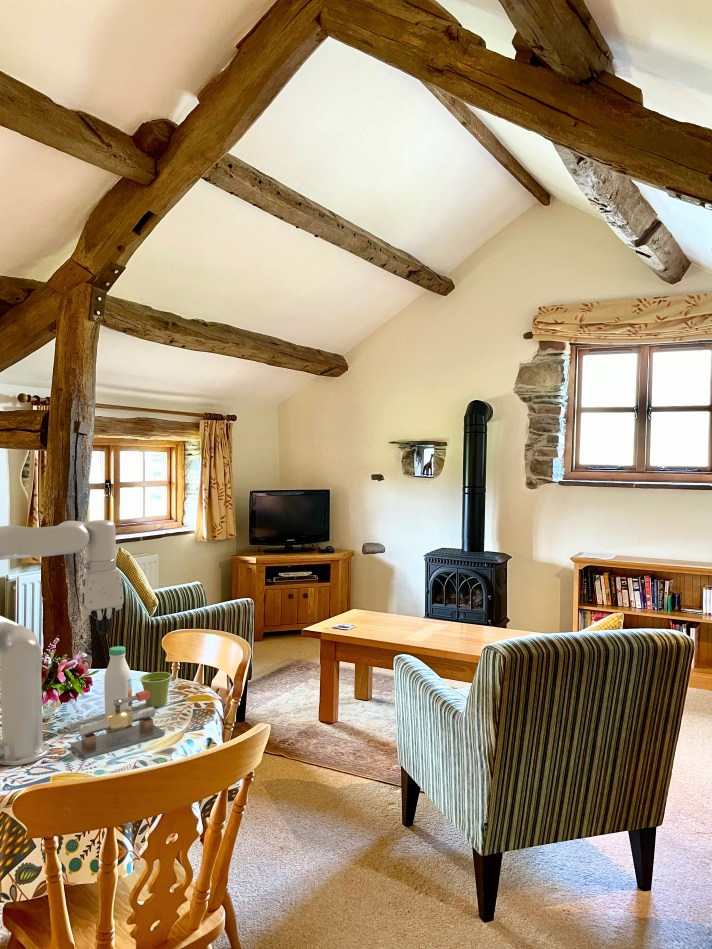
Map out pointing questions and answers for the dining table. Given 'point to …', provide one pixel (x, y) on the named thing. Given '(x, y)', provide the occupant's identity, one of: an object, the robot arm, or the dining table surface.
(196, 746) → the dining table surface
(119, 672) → the milk bottle
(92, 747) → the stand
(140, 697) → the valve lever
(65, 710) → the dining table surface
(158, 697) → the plant pot
